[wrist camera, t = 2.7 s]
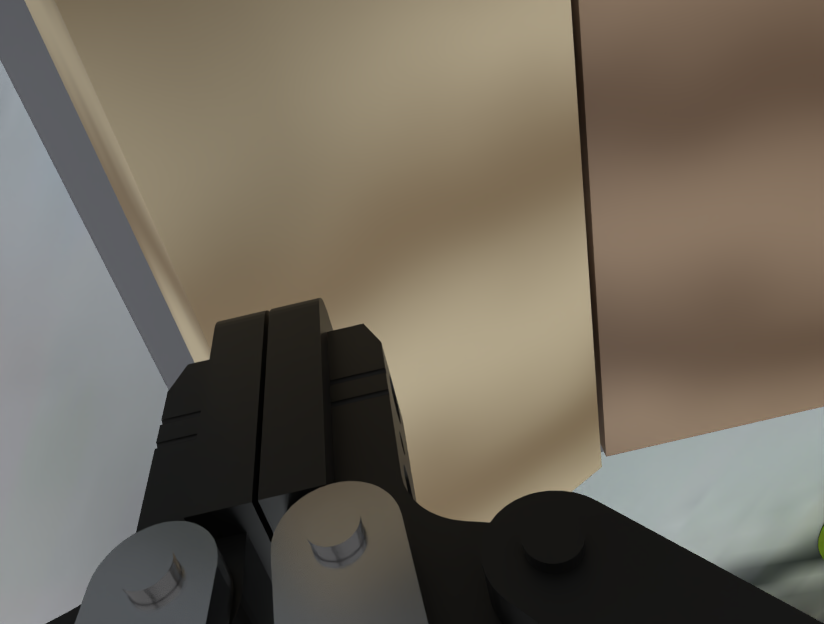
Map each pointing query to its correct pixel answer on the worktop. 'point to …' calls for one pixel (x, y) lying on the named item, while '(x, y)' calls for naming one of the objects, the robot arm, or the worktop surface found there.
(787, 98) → the walnut plank
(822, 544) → the soap dispenser
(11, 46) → the underlay mat
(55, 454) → the worktop surface
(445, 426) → the oak plank
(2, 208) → the worktop surface
